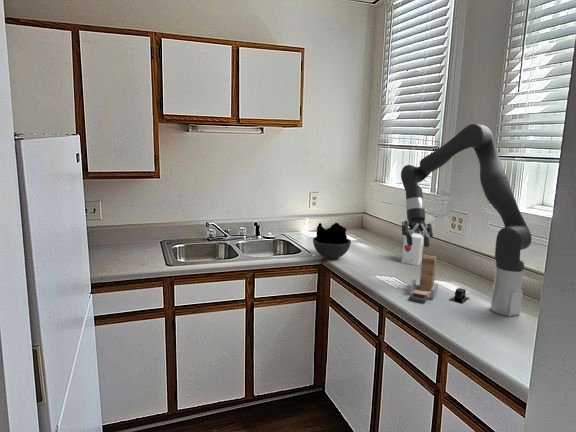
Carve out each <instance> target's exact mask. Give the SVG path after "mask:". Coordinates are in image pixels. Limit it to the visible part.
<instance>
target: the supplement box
mask: <svg viewBox="0 0 576 432" xmlns="http://www.w3.org/2000/svg"><path fill="white" fill-rule="evenodd" d="M412 243H413V245H411V246H408V244H407V237H406V236H405V235H403V243H402V253H401V254H402V255H401V263H402V264H408V265H413V266H420V264H422V257H423V250H424V237H423V236H422V235H421V234H420V233H416V232H415V233H414V232H413V234H412Z"/></svg>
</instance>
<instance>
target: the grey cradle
mask: <svg viewBox="0 0 576 432" xmlns="http://www.w3.org/2000/svg"><path fill="white" fill-rule="evenodd" d="M416 282H417V279H412V280H411V281H410V282H409V284H408V285H407V293H406V294H407V295H408V296H410V295H411V294H412V293H418V294H423V295H428V297H427V300H433V301H434V299H435V297H436V296H437V294H438V288H439V283H434V286H433V287H432V289H431V291H430V292H427V291H423V290H419V289H416Z"/></svg>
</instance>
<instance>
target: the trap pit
mask: <svg viewBox="0 0 576 432" xmlns="http://www.w3.org/2000/svg"><path fill="white" fill-rule="evenodd" d="M427 297H428V295H423V294H418V293H412V294H411V295H409V296H408V301H411V302H413V303H414V302H415V303H417V304H418V303H419V304H423V305H425V303H426V302H427V300H428V299H427Z"/></svg>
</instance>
